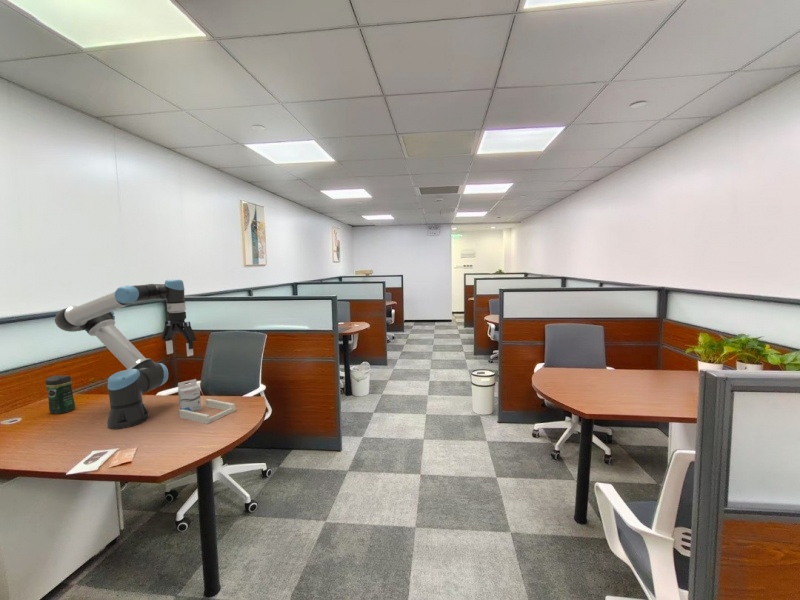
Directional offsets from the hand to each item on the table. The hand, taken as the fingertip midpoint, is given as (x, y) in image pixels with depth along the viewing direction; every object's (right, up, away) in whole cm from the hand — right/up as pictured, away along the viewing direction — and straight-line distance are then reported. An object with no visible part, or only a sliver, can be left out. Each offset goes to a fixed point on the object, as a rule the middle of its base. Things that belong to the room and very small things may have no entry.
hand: (180, 354), depth 167 cm
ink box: (+4, -28, +2) cm, 29 cm away
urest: (+15, -28, -3) cm, 32 cm away
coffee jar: (-64, -30, +7) cm, 71 cm away
